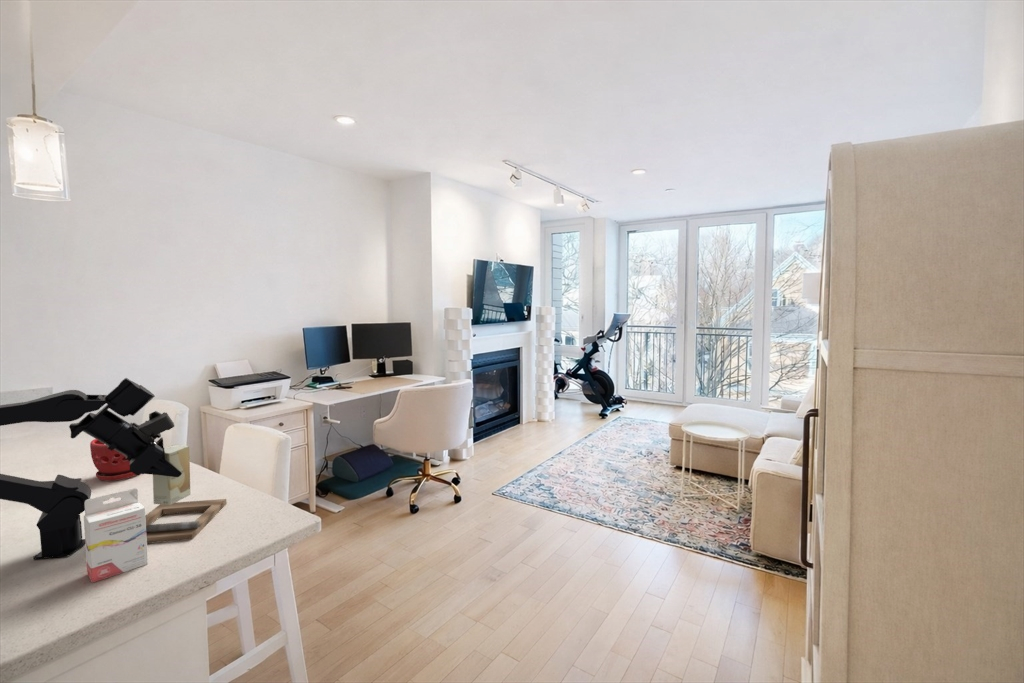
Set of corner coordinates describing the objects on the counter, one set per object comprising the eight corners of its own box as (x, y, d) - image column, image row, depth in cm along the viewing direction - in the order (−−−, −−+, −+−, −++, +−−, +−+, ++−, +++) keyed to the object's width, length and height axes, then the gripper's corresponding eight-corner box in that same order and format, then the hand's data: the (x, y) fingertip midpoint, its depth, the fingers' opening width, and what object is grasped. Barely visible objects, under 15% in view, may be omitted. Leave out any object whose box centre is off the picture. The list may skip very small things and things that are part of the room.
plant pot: (81, 482, 134) (77, 441, 133) (128, 466, 147) (125, 429, 146) (115, 486, 131) (112, 445, 130) (160, 470, 144) (158, 432, 143)
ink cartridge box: (91, 584, 85) (85, 507, 84) (86, 574, 88) (81, 500, 87) (149, 564, 92) (144, 492, 90) (142, 555, 95) (138, 486, 93)
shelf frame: (192, 539, 101) (191, 526, 101) (114, 545, 98) (113, 533, 98) (226, 504, 119) (226, 493, 119) (161, 509, 116) (160, 498, 116)
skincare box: (170, 505, 105) (168, 453, 104) (152, 504, 105) (150, 452, 104) (192, 494, 111) (190, 444, 110) (175, 493, 111) (173, 444, 110)
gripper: (147, 410, 97) (211, 452, 104) (146, 397, 111) (203, 434, 119) (99, 454, 92) (170, 494, 100) (105, 434, 107) (166, 470, 114)
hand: (179, 470), depth 108 cm, fingers closed on skincare box, 7 cm apart
